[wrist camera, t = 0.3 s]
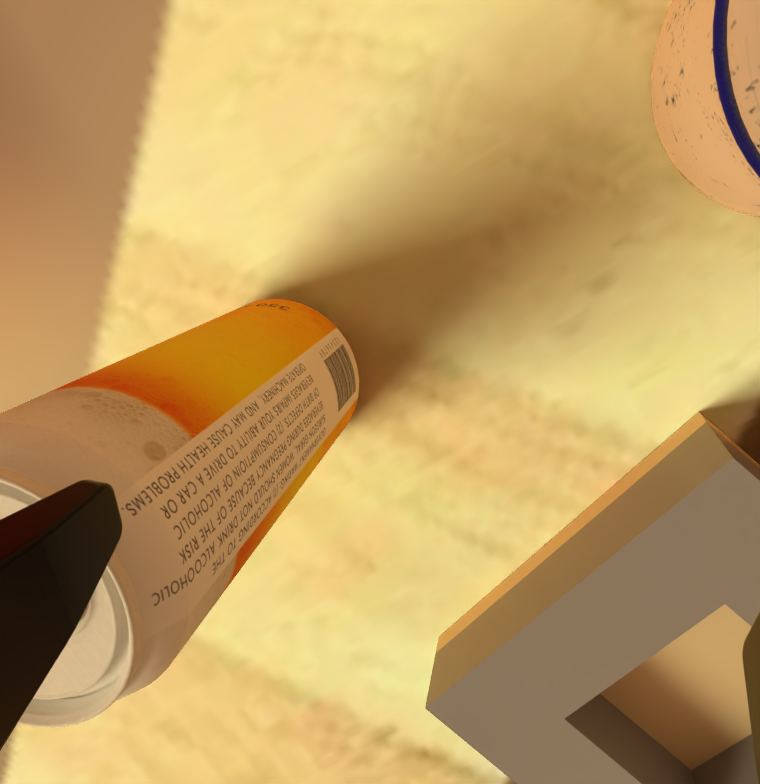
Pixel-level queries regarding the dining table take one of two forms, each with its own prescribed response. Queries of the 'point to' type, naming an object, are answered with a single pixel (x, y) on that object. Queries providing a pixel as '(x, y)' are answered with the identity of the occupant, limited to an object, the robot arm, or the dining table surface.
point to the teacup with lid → (711, 97)
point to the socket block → (621, 633)
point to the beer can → (177, 479)
